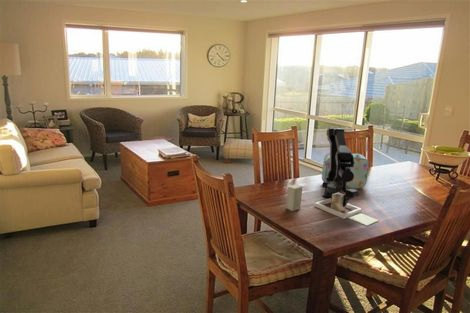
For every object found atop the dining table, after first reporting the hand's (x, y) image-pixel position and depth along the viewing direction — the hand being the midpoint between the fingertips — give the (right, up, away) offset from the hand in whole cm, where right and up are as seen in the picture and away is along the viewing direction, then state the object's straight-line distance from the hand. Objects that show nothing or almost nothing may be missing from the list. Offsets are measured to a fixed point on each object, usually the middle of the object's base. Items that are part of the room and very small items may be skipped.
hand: (338, 204), depth 183 cm
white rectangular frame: (0, -2, +1) cm, 2 cm away
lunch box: (+14, +6, +37) cm, 40 cm away
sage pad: (+9, -6, -11) cm, 15 cm away
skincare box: (-23, -2, -1) cm, 23 cm away
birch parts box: (0, -2, +1) cm, 3 cm away
